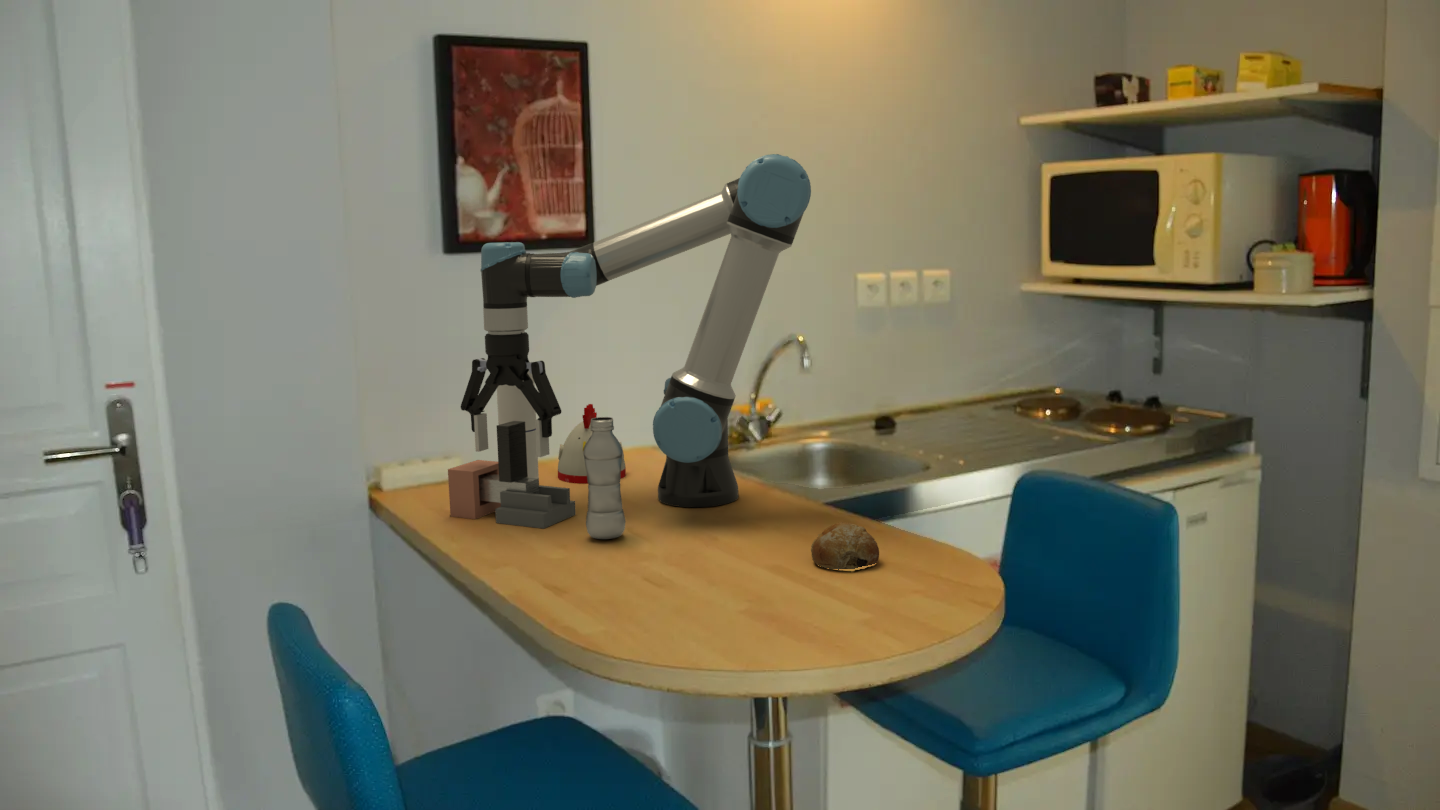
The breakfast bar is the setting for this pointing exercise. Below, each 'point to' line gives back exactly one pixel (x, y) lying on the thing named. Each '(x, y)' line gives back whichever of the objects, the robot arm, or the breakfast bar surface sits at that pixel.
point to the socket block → (470, 489)
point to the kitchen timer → (578, 451)
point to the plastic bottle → (604, 481)
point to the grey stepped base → (535, 507)
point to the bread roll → (844, 547)
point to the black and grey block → (509, 465)
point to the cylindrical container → (519, 409)
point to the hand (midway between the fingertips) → (512, 453)
